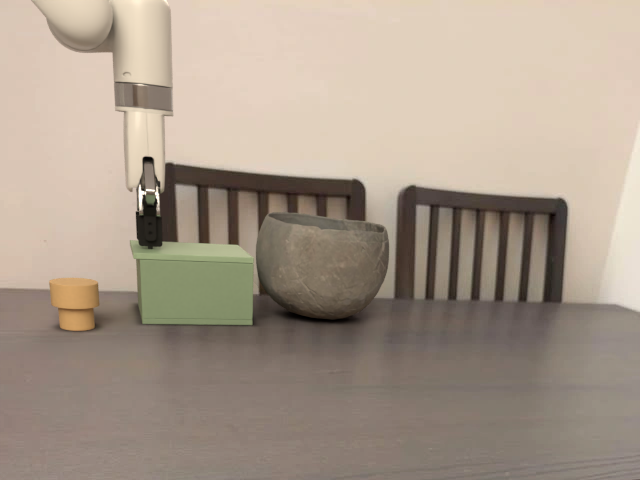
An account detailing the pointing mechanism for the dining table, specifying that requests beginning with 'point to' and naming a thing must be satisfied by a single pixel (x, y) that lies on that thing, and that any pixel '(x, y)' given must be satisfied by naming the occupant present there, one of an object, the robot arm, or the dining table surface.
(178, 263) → the green open box
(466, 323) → the dining table surface
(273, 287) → the bowl
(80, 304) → the wooden stepped cylinder
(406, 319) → the dining table surface
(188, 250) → the lid
